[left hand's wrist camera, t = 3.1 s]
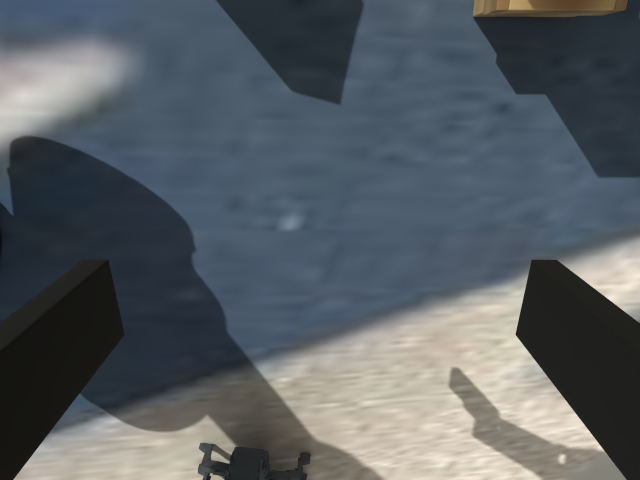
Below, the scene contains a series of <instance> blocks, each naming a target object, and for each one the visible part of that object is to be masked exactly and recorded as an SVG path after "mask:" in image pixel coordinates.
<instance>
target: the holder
mask: <svg viewBox="0 0 640 480" xmlns="http://www.w3.org/2000/svg"><path fill="white" fill-rule="evenodd" d="M627 2H628V0H475V2H474V10H473V17H575V16H591V15H592V16H602V15H606V14H611V13H615V12H620V11H624V10H626V6H627Z"/></svg>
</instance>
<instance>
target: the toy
mask: <svg viewBox="0 0 640 480" xmlns="http://www.w3.org/2000/svg"><path fill="white" fill-rule="evenodd" d="M199 449H200V450H201V451H203V452H204V453H205V454H204V457H203V460H202V464H199V467H198V473H199V474H201V475H203V476H204V477H203V480H210V479H211V476H210V473H213V475H222V476H225V480H306V478H307V475H306V474H302V471H303V466H302V465H307V464H310V455H311V454H301V457H300V458H298V469H295V470H287V471H285V472H284V471H271V472H270V466H269V455H268V451H265V450H263V449H253V448H243V447H235V449H234V451H233V453H232V455H231V459H230V464H227V463H223V462H219V461H212V460H211V452H212V444H203V443H200V446H199Z"/></svg>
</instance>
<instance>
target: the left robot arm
mask: <svg viewBox="0 0 640 480" xmlns="http://www.w3.org/2000/svg"><path fill="white" fill-rule="evenodd" d="M123 336H124V331H123V326H122V321H121V317H120V312H119V308H118V303H117V298H116V294H115V289H114V284H113V280H112V275H111V271H110V266H109V261H108V260H83V261H81V262H80V263H79V264H77V265H76V266H75V267H74V268H72V269H71V270H70V271H68V272H67V273H66V274H64V275H63V276H62V277H60V278H59V279H58V280H56V281H55V282H54V283H53V284H51V285H50V286H49V287H47V288H46V289H45V290H43V291H42V292H41V293H39V294H38V295H37V296H35V297H34V298H33V299H32V300H30V301H29V302H28V303H26V304H25V305H24V306H22V307H21V308H20V309H18V310H17V311H16V312H15V313H13V314H12V315H11V316H9V317H8V318H7V319H5V320H4V321H3V322H1V323H0V480H13V479H14V478H15V477H16V475H17V474H18V473H19V471H20V470H21V469H22V468H23V466H24V465H25V464H26V462H27V461H28V460H29V458H30V457H31V456H32V454H33V453H34V452H35V451H36V449H37V448H38V447H39V445H40V444H41V443H42V441H43V440H44V439H45V438H46V436H47V435H48V434H49V432H50V431H51V430H52V428H53V427H54V426H55V424H56V423H57V422H58V421H59V419H60V418H61V417H62V415H63V414H64V413H65V411H66V410H67V409H68V408H69V406H70V405H71V404H72V402H73V401H74V400H75V398H76V397H77V396H78V394H79V393H80V392H81V391H82V389H83V388H84V387H85V385H86V384H87V383H88V381H89V380H90V379H91V378H92V376H93V375H94V374H95V372H96V371H97V370H98V368H99V367H100V366H101V364H102V363H103V362H104V361H105V359H106V358H107V357H108V355H109V354H110V353H111V351H112V350H113V349H114V348H115V346H116V345H117V344H118V342H119V341H120V340H121V338H122V337H123ZM516 336H517V337H518V338H519V340H520V341H521V342H522V344H523V345H524V346H525V348H526V349H527V350H528V351H529V353H530V354H531V355H532V357H533V358H534V359H535V361H536V362H537V363H538V364H539V366H540V367H541V368H542V370H543V371H544V372H545V374H546V375H547V376H548V378H549V379H550V380H551V381H552V383H553V384H554V385H555V387H556V388H557V389H558V391H559V392H560V393H561V394H562V396H563V397H564V398H565V400H566V401H567V402H568V404H569V405H570V406H571V408H572V409H573V410H574V411H575V413H576V414H577V415H578V417H579V418H580V419H581V421H582V422H583V423H584V424H585V426H586V427H587V428H588V430H589V431H590V432H591V434H592V435H593V436H594V438H595V439H596V440H597V441H598V443H599V444H600V445H601V447H602V448H603V449H604V451H605V452H606V453H607V454H608V456H609V457H610V458H611V460H612V461H613V462H614V464H615V465H616V466H617V468H618V469H619V470H620V471H621V473H622V474H623V475H624V477H625V478H626V479H627V480H640V323H639V322H637V321H636V320H635V319H633V318H632V317H631V316H629V315H628V314H627V313H625V312H624V311H623V310H622V309H620V308H619V307H618V306H616V305H615V304H614V303H612V302H611V301H610V300H608V299H607V298H606V297H605V296H603V295H602V294H601V293H599V292H598V291H597V290H595V289H594V288H593V287H591V286H590V285H589V284H587V283H586V282H585V281H584V280H582V279H581V278H580V277H578V276H577V275H576V274H574V273H573V272H572V271H570V270H569V269H568V268H566V267H565V266H564V265H563V264H561V263H560V262H559V261H557V260H532V261H531V266H530V271H529V275H528V280H527V284H526V289H525V294H524V298H523V303H522V308H521V312H520V317H519V321H518V326H517V331H516Z"/></svg>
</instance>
